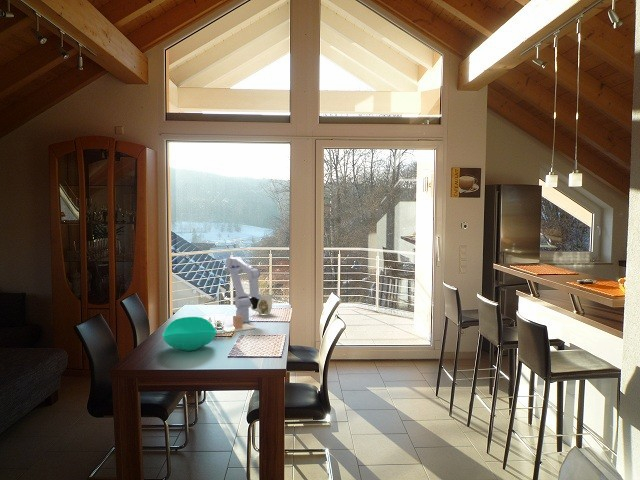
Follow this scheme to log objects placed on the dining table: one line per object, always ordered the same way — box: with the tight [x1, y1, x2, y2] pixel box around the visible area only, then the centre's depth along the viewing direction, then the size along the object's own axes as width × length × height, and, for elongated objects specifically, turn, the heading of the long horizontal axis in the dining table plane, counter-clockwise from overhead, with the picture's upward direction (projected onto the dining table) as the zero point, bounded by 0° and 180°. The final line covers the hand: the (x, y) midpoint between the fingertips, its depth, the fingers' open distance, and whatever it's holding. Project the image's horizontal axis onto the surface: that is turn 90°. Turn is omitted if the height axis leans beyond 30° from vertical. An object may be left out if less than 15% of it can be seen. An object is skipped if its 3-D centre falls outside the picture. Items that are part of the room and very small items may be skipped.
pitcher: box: [250, 294, 276, 315], centre depth 348 cm, size 11×18×14 cm, turn 92°
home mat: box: [233, 323, 256, 333], centre depth 307 cm, size 14×18×1 cm
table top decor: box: [162, 316, 217, 352], centre depth 263 cm, size 40×28×13 cm
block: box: [232, 315, 243, 329], centre depth 307 cm, size 4×4×7 cm
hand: (254, 309), depth 316 cm, fingers closed
